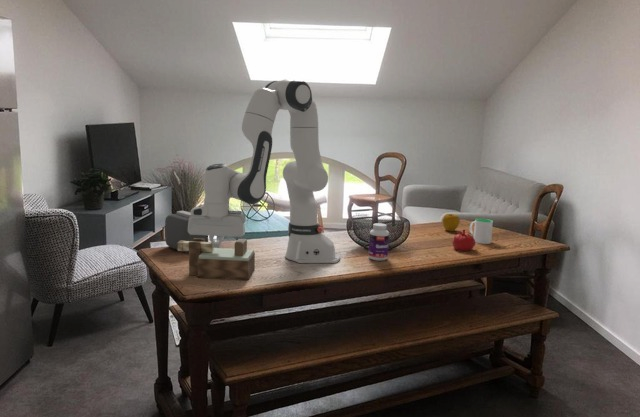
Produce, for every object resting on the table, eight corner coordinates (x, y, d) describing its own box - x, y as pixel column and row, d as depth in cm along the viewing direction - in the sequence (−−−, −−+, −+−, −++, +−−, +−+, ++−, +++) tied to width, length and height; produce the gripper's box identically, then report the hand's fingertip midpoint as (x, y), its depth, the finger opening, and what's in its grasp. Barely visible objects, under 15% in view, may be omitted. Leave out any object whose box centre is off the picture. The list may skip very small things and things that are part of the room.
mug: (463, 239, 260) (465, 218, 258) (473, 237, 265) (475, 216, 263) (483, 244, 251) (485, 222, 249) (494, 242, 255) (496, 221, 253)
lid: (253, 254, 199) (253, 237, 198) (247, 263, 188) (247, 245, 186) (207, 252, 200) (207, 235, 199) (198, 261, 189) (198, 243, 187)
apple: (460, 229, 280) (461, 213, 278) (457, 233, 272) (458, 216, 271) (443, 228, 283) (444, 211, 282) (440, 231, 276) (441, 214, 274)
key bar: (214, 249, 195) (214, 241, 195) (211, 252, 192) (211, 244, 191) (180, 248, 196) (180, 240, 195) (177, 250, 192) (177, 242, 192)
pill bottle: (375, 262, 216) (376, 227, 213) (364, 257, 223) (366, 223, 220) (391, 260, 220) (393, 225, 217) (380, 255, 227) (382, 221, 224)
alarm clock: (208, 250, 225) (208, 214, 223) (185, 255, 217) (184, 217, 214) (185, 243, 236) (185, 208, 233) (163, 247, 228) (162, 211, 225)
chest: (254, 270, 200) (254, 239, 198) (248, 280, 188) (248, 247, 186) (196, 267, 201) (196, 236, 199) (186, 277, 190) (186, 244, 187)
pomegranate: (479, 251, 239) (481, 231, 237) (463, 253, 234) (465, 232, 232) (462, 245, 247) (464, 226, 246) (446, 247, 242) (448, 227, 240)
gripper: (247, 209, 193) (246, 246, 196) (191, 206, 194) (191, 244, 197) (243, 212, 187) (243, 251, 189) (186, 210, 188) (186, 248, 190)
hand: (216, 247), depth 193 cm, fingers closed
